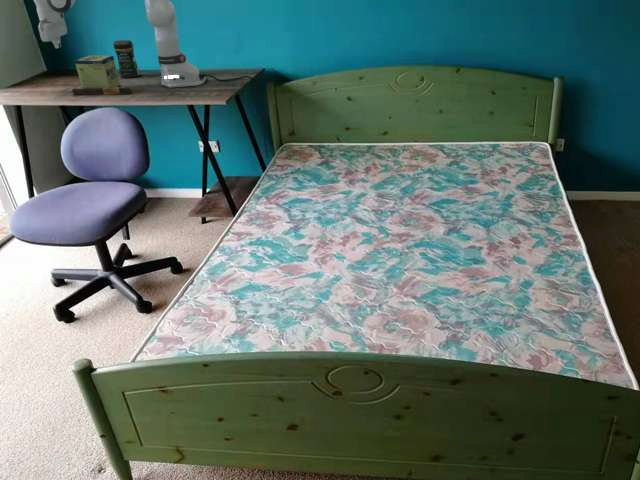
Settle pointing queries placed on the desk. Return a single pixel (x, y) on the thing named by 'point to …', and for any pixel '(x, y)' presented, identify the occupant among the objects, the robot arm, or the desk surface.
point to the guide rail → (102, 91)
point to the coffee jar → (126, 58)
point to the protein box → (97, 72)
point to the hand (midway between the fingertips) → (58, 47)
